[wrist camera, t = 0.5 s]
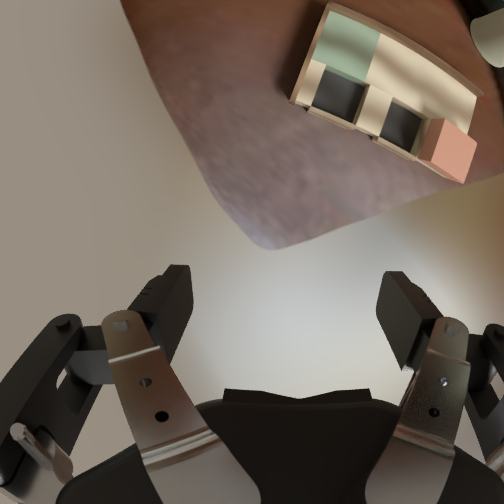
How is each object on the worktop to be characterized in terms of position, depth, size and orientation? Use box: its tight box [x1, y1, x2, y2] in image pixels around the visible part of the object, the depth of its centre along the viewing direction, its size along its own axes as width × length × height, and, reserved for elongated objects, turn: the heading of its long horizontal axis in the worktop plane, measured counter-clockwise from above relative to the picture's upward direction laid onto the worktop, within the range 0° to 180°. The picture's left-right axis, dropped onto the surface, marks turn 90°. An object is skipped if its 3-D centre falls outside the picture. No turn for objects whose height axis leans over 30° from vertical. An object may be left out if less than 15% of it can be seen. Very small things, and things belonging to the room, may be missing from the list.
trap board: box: [289, 0, 484, 179], centre depth 28 cm, size 15×24×4 cm, turn 71°
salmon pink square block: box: [418, 118, 477, 184], centre depth 28 cm, size 6×6×4 cm
